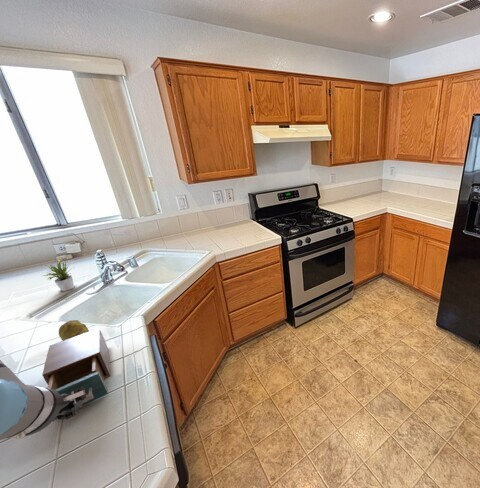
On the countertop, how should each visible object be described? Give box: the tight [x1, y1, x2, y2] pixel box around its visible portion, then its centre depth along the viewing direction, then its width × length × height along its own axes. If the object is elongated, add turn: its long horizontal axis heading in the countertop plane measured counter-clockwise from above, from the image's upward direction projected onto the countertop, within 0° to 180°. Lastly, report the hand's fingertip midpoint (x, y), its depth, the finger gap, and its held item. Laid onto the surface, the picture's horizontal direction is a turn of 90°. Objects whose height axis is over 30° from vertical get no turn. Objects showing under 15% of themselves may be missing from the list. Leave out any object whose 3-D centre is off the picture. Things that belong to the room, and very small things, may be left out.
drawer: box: [47, 356, 109, 407], centre depth 75 cm, size 19×11×8 cm, turn 40°
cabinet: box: [41, 327, 111, 385], centre depth 84 cm, size 16×13×10 cm
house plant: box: [37, 259, 75, 292], centre depth 139 cm, size 14×14×16 cm
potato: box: [58, 319, 90, 341], centre depth 98 cm, size 8×13×8 cm, turn 45°
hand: (70, 411), depth 64 cm, fingers closed
